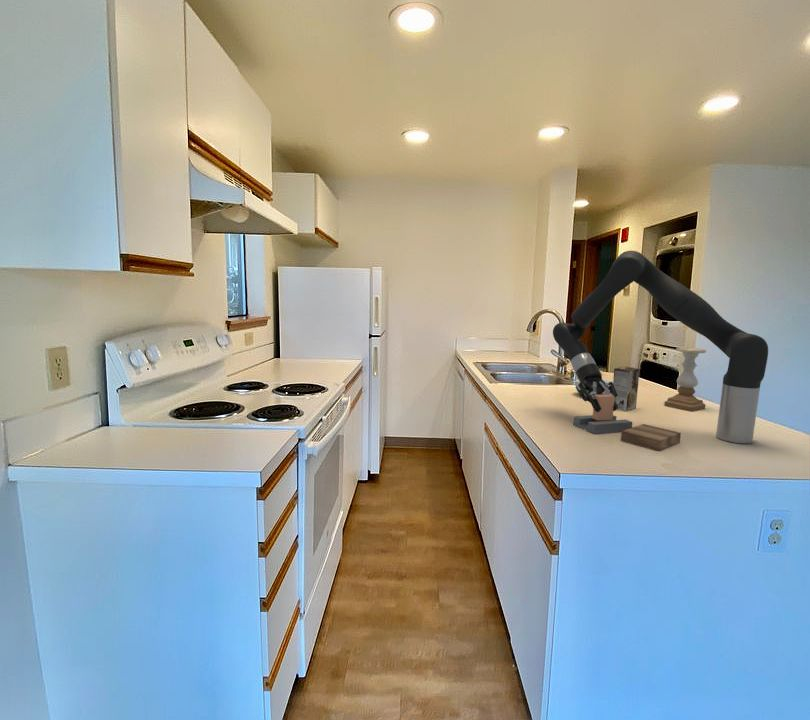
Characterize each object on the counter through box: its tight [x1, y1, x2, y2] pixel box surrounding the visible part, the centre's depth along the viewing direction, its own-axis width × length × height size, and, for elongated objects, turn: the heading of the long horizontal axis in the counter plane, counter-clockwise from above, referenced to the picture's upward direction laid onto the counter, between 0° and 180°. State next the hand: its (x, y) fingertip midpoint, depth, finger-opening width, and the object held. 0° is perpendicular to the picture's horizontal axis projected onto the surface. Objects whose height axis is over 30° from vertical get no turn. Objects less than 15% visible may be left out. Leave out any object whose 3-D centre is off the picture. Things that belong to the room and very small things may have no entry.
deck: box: [620, 423, 682, 452], centre depth 134 cm, size 14×11×3 cm
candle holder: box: [663, 347, 707, 412], centre depth 178 cm, size 11×11×24 cm
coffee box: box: [612, 366, 640, 412], centre depth 175 cm, size 9×6×16 cm
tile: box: [592, 395, 615, 421], centre depth 146 cm, size 6×2×8 cm, turn 107°
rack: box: [572, 414, 633, 435], centre depth 147 cm, size 15×11×3 cm
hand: (607, 410), depth 145 cm, fingers closed on tile, 6 cm apart
